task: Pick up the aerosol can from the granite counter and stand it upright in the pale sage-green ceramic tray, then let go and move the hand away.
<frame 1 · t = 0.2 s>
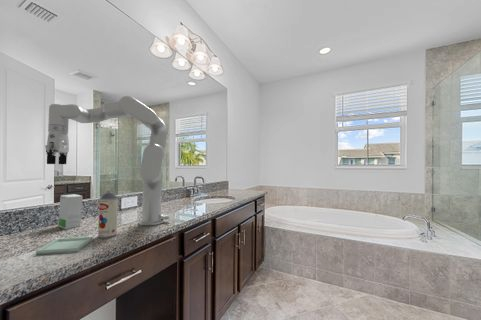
hand: (57, 164, 104), 31 cm above the worktop, tool pointing down, fingers open, 9 cm apart
tray: (66, 247, 79), on the worktop
aerosol can: (107, 236, 92), on the worktop
skincare box: (69, 226, 105), on the worktop
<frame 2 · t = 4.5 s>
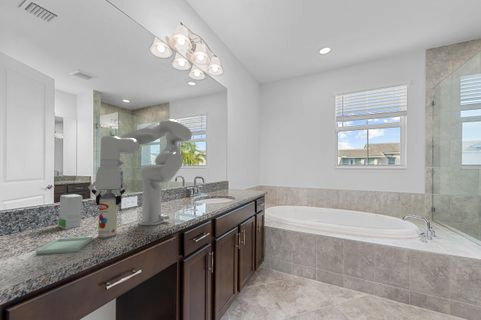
hand: (108, 204, 92), 14 cm above the worktop, tool pointing down, fingers closed on aerosol can, 6 cm apart
aerosol can: (107, 236, 92), on the worktop, touching gripper
everything else where it was.
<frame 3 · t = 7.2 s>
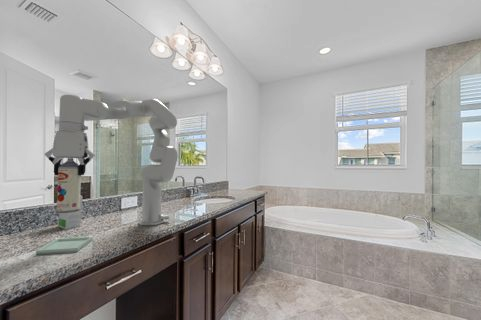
hand: (69, 174, 80), 27 cm above the worktop, tool pointing down, fingers closed on aerosol can, 6 cm apart
aerosol can: (68, 211, 79), point 13 cm above the worktop, touching gripper
everything else where it was.
when the fingers open (15 cm above the worktop, at t = 10.1 s): aerosol can stays where it is, resting on tray.
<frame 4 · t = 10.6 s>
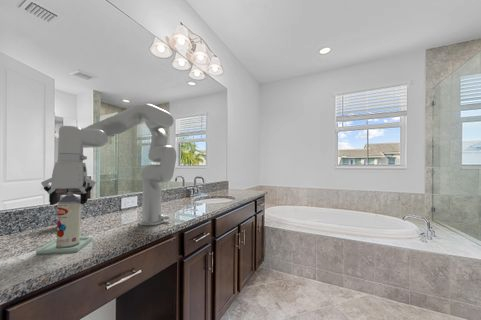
hand: (68, 203, 79), 16 cm above the worktop, tool pointing down, fingers open, 9 cm apart
aerosol can: (68, 245, 79), resting on tray
everything else where it was.
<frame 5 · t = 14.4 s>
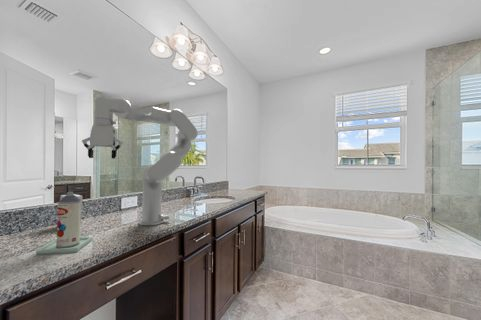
hand: (102, 158, 102), 34 cm above the worktop, tool pointing down, fingers open, 9 cm apart
nothing on the worktop moved.
at the end: aerosol can inside the target area on the tray (0.4 cm from its centre), point 0.4 cm above the tray's base; aerosol can tilted 0°; the gripper is holding nothing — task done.
